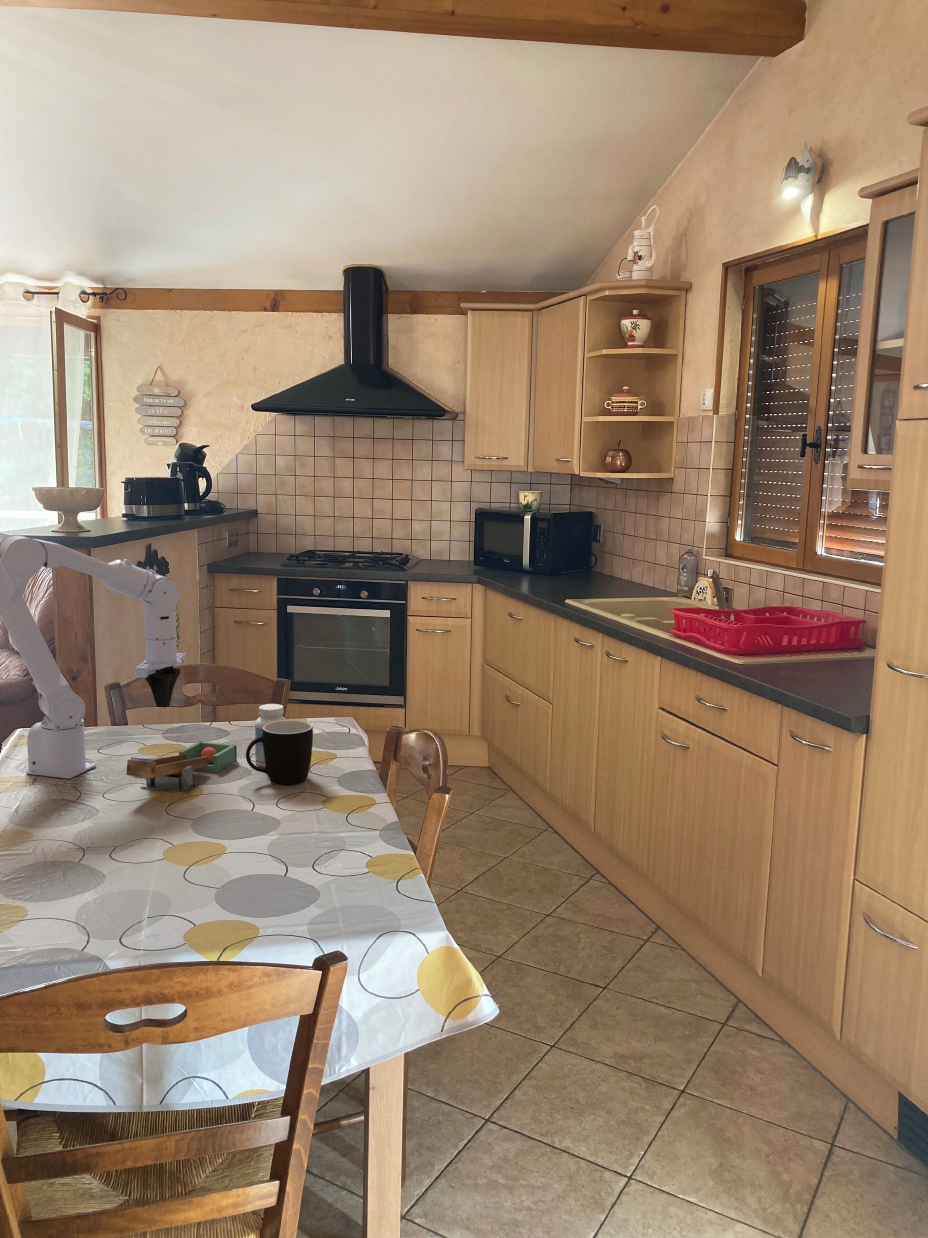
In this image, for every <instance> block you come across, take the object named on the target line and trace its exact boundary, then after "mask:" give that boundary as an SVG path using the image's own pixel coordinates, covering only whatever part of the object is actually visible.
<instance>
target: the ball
mask: <svg viewBox="0 0 928 1238" xmlns="http://www.w3.org/2000/svg"><path fill="white" fill-rule="evenodd" d="M215 754H217V752H216V750H215V749H214V748H211V747H207V748H205V749H203V750H202V752H201V757H204V756H207V757H208V763H212V762H213V761H214V760H213V756H214V755H215Z"/></svg>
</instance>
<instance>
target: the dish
mask: <svg viewBox="0 0 928 1238" xmlns="http://www.w3.org/2000/svg"><path fill="white" fill-rule="evenodd" d="M207 747H211V748H214V749H215V750H216V752H217V754H215V755H214V756H213V760H214V761H213V762H212V763H208V765H207V766H206V767H202V768H197V769H193V770H192V771H201V772H207V773H208V772H209V773H219V772H221V771H222V770H224V769H226V768H228V767H230V766H231V765H233V764H234V763H236V762H237V761H238V756H237V755H238V754H237V753H238V751H237V749H238V747H237V744H231V743H230V744H229V743H220V742H211V741H210V742H209V741H201V740H199V741H197V742H196V743H193V744H191V745H190V746H188V747H185V748H184V749H181V750H180V751H178V755H181V754H187V759H186V760H189V759H194V758H199V757H201V752H202V750H203V749H205V748H207Z"/></svg>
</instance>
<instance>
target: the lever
mask: <svg viewBox="0 0 928 1238" xmlns="http://www.w3.org/2000/svg"><path fill="white" fill-rule="evenodd" d="M186 759H187V754H181V755H179V754H177V755H171V756H165V757H164V756H156V755H145V754H141V755H136V756H131V757H130V759H127V761H126V763H127V764H126V776H130V777H138V778H139V777H141V778H146V777H147V778H155V777H160V776H165V775H169V774H174V775H182V769H183V768H185V767H187V766H192V771H194V770H193V769H197V768H202V767H206V766H207V765H208V757H207V756H204V757H199V758H194V759H189V760H186Z"/></svg>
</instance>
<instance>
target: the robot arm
mask: <svg viewBox="0 0 928 1238" xmlns="http://www.w3.org/2000/svg"><path fill="white" fill-rule="evenodd" d="M43 567H44V568H46V569H52V568H57V567H65V568H68V569H72V570H74V571H77V572H80V573H83V574H86V575H89V576H93V577H96V578H99V579H101V580H102V582H103V583H104V587H105V588H106V589H108V590H111V591H114V592H115V593H116V592H117V593H119V594H123V595H125V596H128V597H130V598H133V599H136V600H142V601H143V602H144V638H145V639H144V642H145V645H144V646H145V647H144V648H145V660H144V661H143V662H141V664H139V665H137V666H135V667H134V668H135V671H134V673H135V674H134V675H135V677H136V678H142V679H145V681H146V682H147V684H148V686H149V688H150V691H151V693H152V696H153V699H154V703H155V705H156V706H155V707H156V708H168V707H170V705H171V700H172V695H173V693H174V692H173V691H174V687H175V685H176V683H177V680H178V678H179V676H180V675H181V669H180V668H174V667H175V666H176V667H178V666H181V665H182V664H183V665H184V664H186V663H187V653H183V652H182V653H181V652H178V651H177V620H176V617H177V614H176V603H177V602H178V601H179V598H180V596H181V595H180V594H181V591H179V589H178V585H177V584H176V583H175V581H174V580H173V579H172V578H169V577H166V576H163V575H160V574H159V573H156V572H157V571H156V570H153V569H151V568H149V570H148V569H144V568H143V567H139V566H137V565H134V564H133V561H132V560H129V559H126V558H123V560H121V559H115V560H113V561H110V562H105V561H102V560H99V559H97V558H96V557H92V556H90V555H87V554H85V553H82V552H80V551H77V550H75V549H72V548H70V547H67V546H65V545H62V544H59V543H56V542H53V541H48V540H43V539H39V538H38V539H37V538H34V537H33V538H29V537H27V536H25V535H23V534H10V535H7V536H5V537H4V538H3V539H1V540H0V619H1V621H2V623H3V625H4V627H5V628H6V630H7V632H8V634H9V636H10V638H11V640H12V642H13V644H14V645H15V647H16V649H17V651H18V653H19V655H20V657H21V658H22V659H21V660H23V663H24V664H25V667H26V669H27V671H28V673H29V674H30V676H31V678H32V680H33V683H34V687H35V689H36V690H37V693H38V706H39V708H40V710H41V712H42V713H43V714H44V716H43V719H42V721H40V722H36V723H35V724H33V725H32V726H31V727H30V729H29V731H28V733H27V738H26V743H27V744H26V747H27V764H28V769H27V770H25V774H26V775H27V774H28V775H33V776H34V775H35V776H44V777H51V778H62V779H72V778H74V777H76V776H79V775H80V774H83V773H84V772H87V771H88V770H91V769H93V768H95V767H96V766H97V764H96V762H95V763H93V762H88V761H87V762H86V742H85V723H84V722H85V720H84V719H83V718H84V717H85V715H86V703H85V701H84V700H83V699H82V697H81V696H79V695H77V694H76V693H75V692H74V691H73V690H72V688H71V686H70V685H69V683H68V681H67V680H66V679H65V677H64V676H63V674H62V672H61V669H60V668H59V666H58V664H57V662H56V660H55V658H54V656H53V655H52V652H51V650H50V648H49V646H48V643H46V640H45V639H44V636H43V635H42V632H41V631H40V628H39V626H38V625H37V622H36V621H35V619H34V617H33V615H32V613H31V611H30V608H29V606H28V605H27V603H26V601H25V599H24V597H23V593H24V591H25V589H26V588H27V586H28V583H29V581H30V579H32V578H33V577H34V576H35V575H36V574H37V573H38V572H39V571H40V570H41V569H42V568H43Z"/></svg>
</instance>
